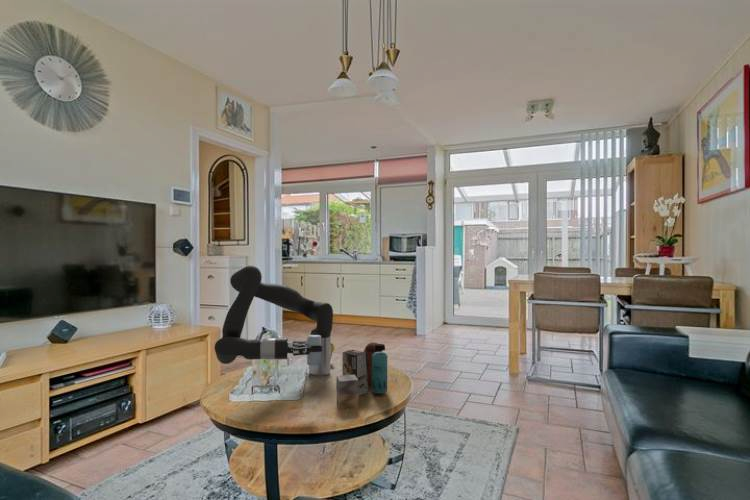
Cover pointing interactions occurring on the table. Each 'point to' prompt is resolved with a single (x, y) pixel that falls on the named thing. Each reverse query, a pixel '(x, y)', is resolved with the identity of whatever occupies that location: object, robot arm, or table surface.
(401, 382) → the table surface
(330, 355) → the plant pot
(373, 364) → the beverage bottle
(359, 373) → the coffee box
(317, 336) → the dowel
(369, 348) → the wooden figurine
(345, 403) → the tower base
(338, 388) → the tower top
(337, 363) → the table surface
